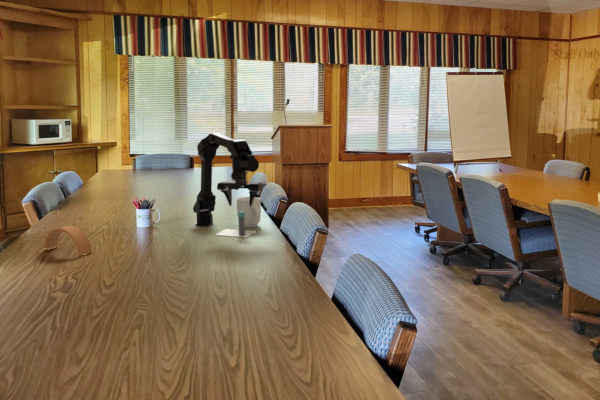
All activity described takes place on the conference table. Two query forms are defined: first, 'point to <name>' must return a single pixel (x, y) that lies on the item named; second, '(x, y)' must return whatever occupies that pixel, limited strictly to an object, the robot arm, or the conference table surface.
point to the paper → (235, 233)
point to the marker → (241, 223)
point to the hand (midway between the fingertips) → (240, 206)
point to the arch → (74, 233)
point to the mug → (250, 211)
